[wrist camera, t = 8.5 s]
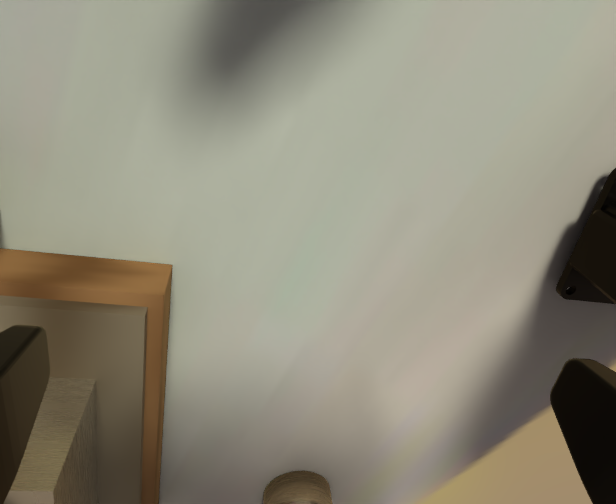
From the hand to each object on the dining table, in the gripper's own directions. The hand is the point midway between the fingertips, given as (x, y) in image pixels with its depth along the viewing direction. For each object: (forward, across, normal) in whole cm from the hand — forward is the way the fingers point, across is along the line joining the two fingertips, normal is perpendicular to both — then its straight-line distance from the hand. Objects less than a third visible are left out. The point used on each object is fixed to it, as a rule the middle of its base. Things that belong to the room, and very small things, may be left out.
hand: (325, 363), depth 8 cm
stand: (+12, +9, +13) cm, 20 cm away
